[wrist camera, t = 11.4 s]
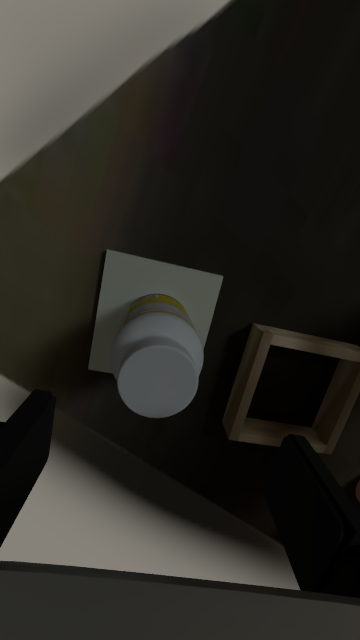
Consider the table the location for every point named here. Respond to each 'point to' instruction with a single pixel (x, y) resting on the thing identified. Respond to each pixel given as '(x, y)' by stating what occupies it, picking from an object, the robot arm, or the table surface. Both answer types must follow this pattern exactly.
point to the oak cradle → (348, 380)
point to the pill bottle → (156, 357)
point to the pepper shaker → (358, 491)
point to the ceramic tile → (143, 279)
